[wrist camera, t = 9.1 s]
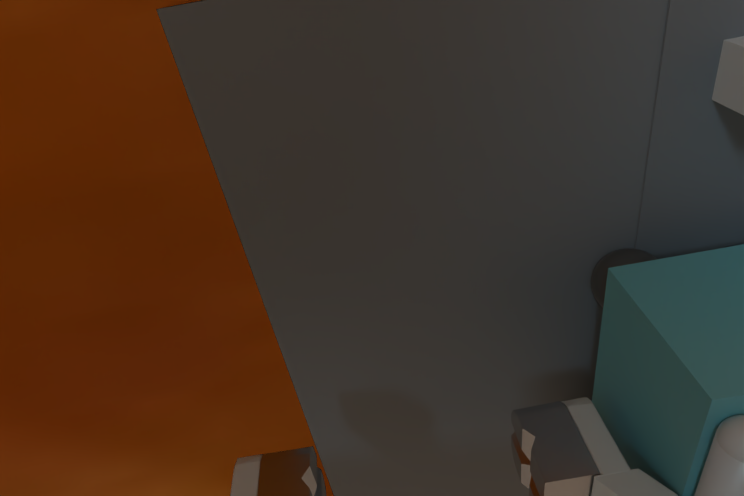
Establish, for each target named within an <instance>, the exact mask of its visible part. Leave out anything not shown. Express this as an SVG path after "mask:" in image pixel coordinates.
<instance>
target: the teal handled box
mask: <svg viewBox="0 0 744 496" xmlns="http://www.w3.org/2000/svg"><path fill="white" fill-rule="evenodd" d="M591 286H592V291H593V294H594V297H595V299H596V300H597V302H598V303H599V304H600V306H601V307H602V308H603V314H602V322H601V330H600V338H599V347H598V355H597V363H596V371H595V379H594V387H593V395H592V403H593V404H594V406H595V408H596V410H597V411H598V413H599V415H600V416H601V418H602V420H603V422H604V423H605V425H606V427H607V429H608V430H609V432H610V434H611V436H612V437H613V439H614V441H615V443H616V444H617V446H618V448H619V450H620V451H621V453H622V455H623V457H624V458H625V460H626V462H627V464H628V465H629V467H630V469H637V468H639V469H640V470H642V471H643V472H645V473H646V474H648V475H649V476H651V477H652V478H654V479H655V480H657V481H658V482H659V483H661V484H662V485H664V486H665V487H667V488H668V489H670V490H671V491H673V492H674V493H676V494H677V495H679V496H744V244H742V245H737V246H731V247H725V248H720V249H714V250H708V251H702V252H697V253H691V254H685V255H680V256H674V257H668V258H663V259H657V258H656V257H654V256H653V255H651V254H650V253H648V252H645V251H643V250H639V249H633V248H626V249H620V250H616V251H613V252H611V253H609V254H607V255H606V256H604V257H603V258H602V259H601V260H600V261H599V262H598V264H597V265H596V267H595V269H594V271H593V274H592V278H591Z"/></svg>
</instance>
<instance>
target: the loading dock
mask: <svg viewBox="0 0 744 496" xmlns="http://www.w3.org/2000/svg"><path fill="white" fill-rule="evenodd" d="M156 10H157V13H158V15H159V18H160V21H161V24H162V26H163V29H164V32H165V34H166V37H167V40H168V43H169V45H170V48H171V51H172V54H173V56H174V59H175V62H176V65H177V67H178V70H179V73H180V76H181V78H182V81H183V84H184V86H185V89H186V92H187V95H188V97H189V100H190V103H191V106H192V108H193V111H194V114H195V117H196V119H197V122H198V125H199V128H200V130H201V133H202V136H203V139H204V141H205V144H206V147H207V149H208V152H209V155H210V158H211V160H212V163H213V166H214V169H215V171H216V174H217V177H218V180H219V182H220V185H221V188H222V191H223V193H224V196H225V199H226V202H227V204H228V207H229V210H230V212H231V215H232V218H233V221H234V223H235V226H236V229H237V232H238V234H239V237H240V240H241V243H242V245H243V248H244V251H245V254H246V256H247V259H248V262H249V264H250V267H251V270H252V273H253V275H254V278H255V281H256V284H257V286H258V289H259V292H260V295H261V297H262V300H263V303H264V306H265V308H266V311H267V314H268V317H269V319H270V322H271V325H272V327H273V330H274V333H275V336H276V338H277V341H278V344H279V347H280V349H281V352H282V355H283V358H284V360H285V363H286V366H287V369H288V371H289V374H290V377H291V379H292V382H293V385H294V388H295V390H296V393H297V396H298V399H299V401H300V404H301V407H302V410H303V412H304V415H305V418H306V421H307V423H308V426H309V429H310V432H311V434H312V437H313V440H314V442H315V445H316V448H317V451H318V453H319V456H320V459H321V462H322V464H323V467H324V470H325V473H326V475H327V478H328V481H329V484H330V486H331V489H332V492H333V495H334V496H529V489H528V488H527V487H526V486H525V485H523V484H522V483H521V481H520V478H519V476H518V473H517V470H516V466H515V463H514V459H513V453H512V448H511V435H512V434H513V433H514V432H515V431H514V428H513V425H512V423H511V413H512V411H513V410H516V409H521V408H526V407H531V406H536V405H542V404H547V403H552V402H557V401H560V402H562V401H567V400H572V399H577V398H582V397H587V398H588V399H590V400H591V401H592V395H593V387H594V379H595V371H596V363H597V355H598V347H599V338H600V330H601V322H602V314H603V308H602V307H601V306H600V304H599V303H598V302H597V300H596V299H595V297H594V294H593V291H592V286H591V278H592V274H593V271H594V269H595V267H596V265H597V264H598V262H599V261H600V260H601V259H602V258H603V257H604V256H606V255H607V254H609V253H611V252H613V251H616V250H620V249H626V248H633V249H639V250H643V251H645V252H648V253H650V254H651V255H653V256H654V257H656V258H657V259H663V258H668V257H674V256H680V255H685V254H691V253H697V252H702V251H708V250H714V249H720V248H725V247H731V246H737V245H742V244H744V0H201V1H196V2H191V3H186V4H181V5H176V6H171V7H166V8H161V9H156Z"/></svg>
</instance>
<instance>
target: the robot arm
mask: <svg viewBox="0 0 744 496" xmlns="http://www.w3.org/2000/svg"><path fill="white" fill-rule="evenodd" d="M511 423H512V425H513V428H514V431H515V432H514V433H513V434H512V435H511V448H512V453H513V459H514V463H515V466H516V470H517V473H518V476H519V478H520V481H521V483H522V484H523V485H525V486H526V487H527V488H528V489H529V496H679V495H677V494H676V493H674V492H673V491H671V490H670V489H668V488H667V487H665V486H664V485H662V484H661V483H659V482H658V481H657V480H655V479H654V478H652V477H651V476H649V475H648V474H646V473H645V472H643V471H642V470H640V469H639V468H637V469H630V467H629V465H628V464H627V462H626V460H625V458H624V457H623V455H622V453H621V451H620V450H619V448H618V446H617V444H616V443H615V441H614V439H613V437H612V436H611V434H610V432H609V430H608V429H607V427H606V425H605V423H604V422H603V420H602V418H601V416H600V415H599V413H598V411H597V410H596V408H595V406H594V404H593V403H592V401H591V400H590V399H588V398H587V397H582V398H577V399H572V400H567V401H562V402H560V401H557V402H552V403H547V404H542V405H536V406H531V407H526V408H521V409H516V410H513V411H512V413H511ZM230 496H326V488H325V483H324V478H323V474H322V471H321V469H319V468H318V467H317V456H316V453H315V451H314V448H313V446H311V447H305V448H299V449H292V450H286V451H280V452H273V453H267V454H260V455H254V456H248V457H242V458H238V459H237V461H236V464H235V466H234V471H233V479H232V486H231V493H230Z"/></svg>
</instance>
